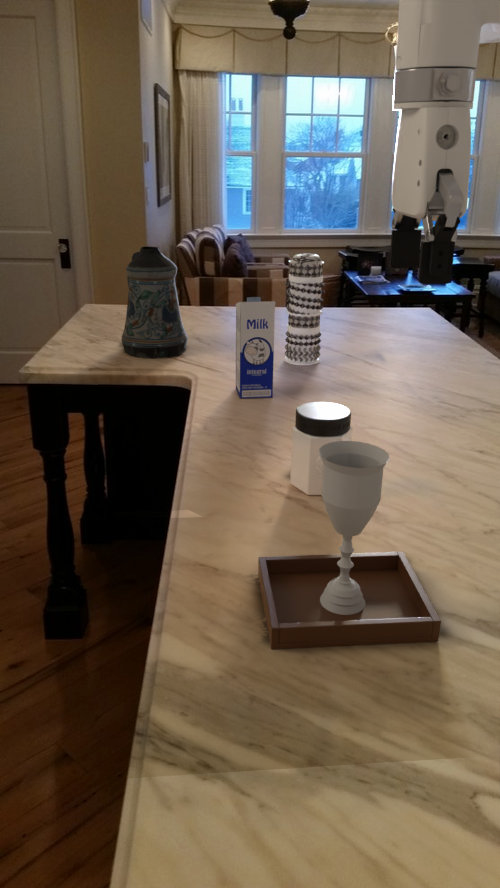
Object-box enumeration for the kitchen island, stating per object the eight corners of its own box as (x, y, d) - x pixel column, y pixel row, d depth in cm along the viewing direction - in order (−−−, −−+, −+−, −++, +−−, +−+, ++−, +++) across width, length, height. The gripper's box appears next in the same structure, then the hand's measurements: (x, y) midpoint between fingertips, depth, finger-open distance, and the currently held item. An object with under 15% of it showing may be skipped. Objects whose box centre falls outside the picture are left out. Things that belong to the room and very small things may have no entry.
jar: (292, 496, 104) (296, 420, 99) (287, 473, 111) (290, 401, 107) (353, 496, 104) (359, 420, 99) (344, 472, 112) (349, 401, 107)
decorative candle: (288, 366, 166) (292, 258, 156) (279, 356, 174) (282, 252, 164) (325, 365, 168) (332, 257, 158) (314, 354, 176) (319, 251, 166)
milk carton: (239, 398, 144) (240, 301, 136) (234, 388, 150) (235, 294, 142) (273, 397, 145) (276, 300, 137) (267, 387, 151) (269, 294, 144)
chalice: (298, 604, 78) (305, 455, 71) (328, 576, 83) (337, 435, 76) (358, 628, 74) (371, 474, 67) (385, 598, 80) (400, 451, 73)
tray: (401, 569, 86) (403, 551, 85) (438, 641, 74) (441, 620, 73) (258, 575, 85) (258, 556, 84) (271, 649, 72) (271, 628, 71)
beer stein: (162, 362, 168) (158, 254, 158) (99, 351, 177) (91, 248, 167) (200, 347, 181) (198, 247, 171) (140, 337, 190) (135, 241, 180)
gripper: (511, 86, 60) (486, 289, 66) (439, 98, 75) (425, 261, 82) (425, 86, 59) (409, 291, 66) (371, 98, 75) (362, 263, 81)
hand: (418, 274), depth 74 cm, fingers open, 9 cm apart
